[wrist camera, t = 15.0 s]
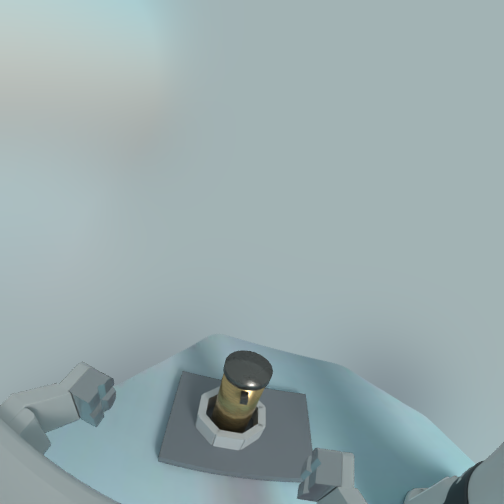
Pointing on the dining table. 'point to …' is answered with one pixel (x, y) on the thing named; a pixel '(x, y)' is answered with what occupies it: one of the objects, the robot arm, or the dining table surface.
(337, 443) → the dining table surface
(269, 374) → the cylinder
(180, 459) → the socket base
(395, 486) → the dining table surface
